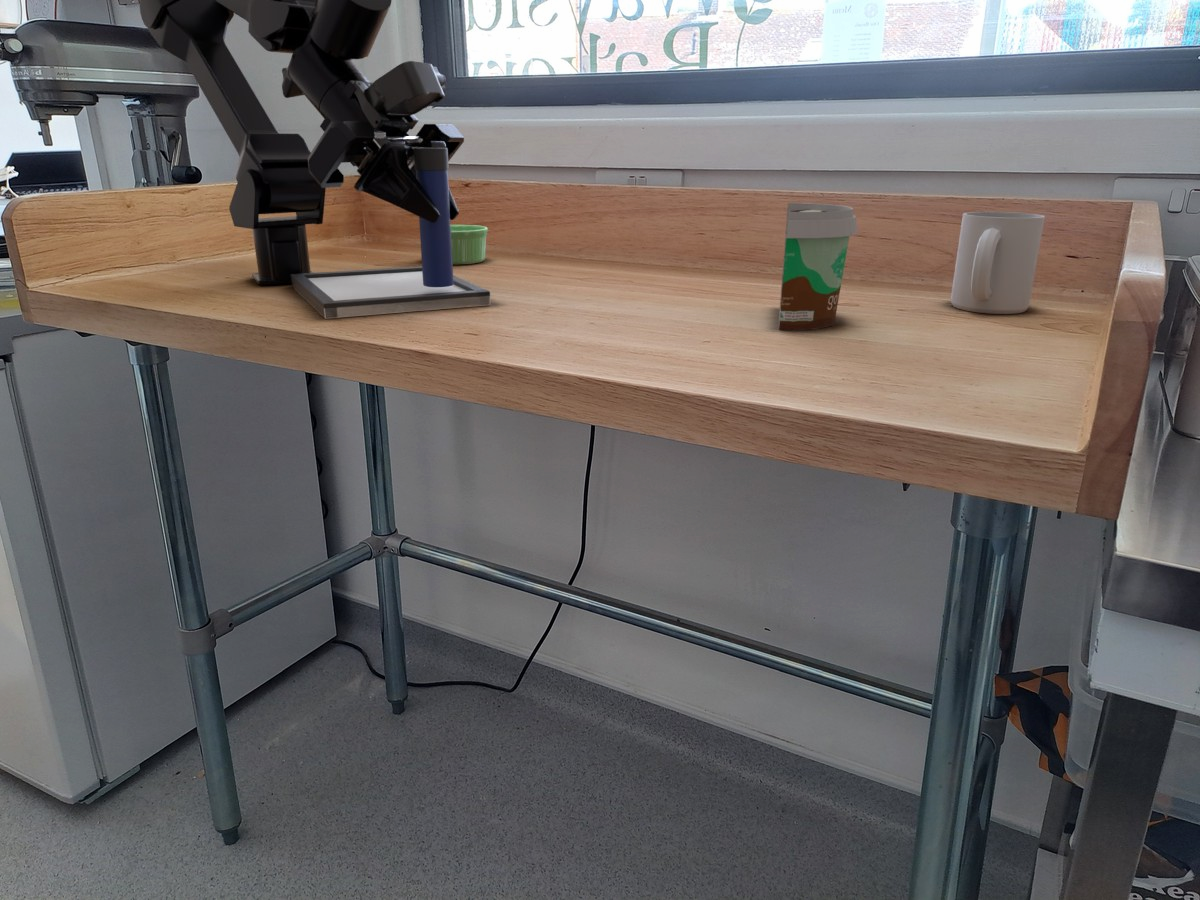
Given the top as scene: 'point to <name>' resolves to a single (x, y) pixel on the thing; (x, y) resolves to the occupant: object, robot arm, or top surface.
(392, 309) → the whiteboard
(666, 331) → the top surface
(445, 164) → the marker
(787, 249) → the food container
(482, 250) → the ramekin
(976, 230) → the cup
